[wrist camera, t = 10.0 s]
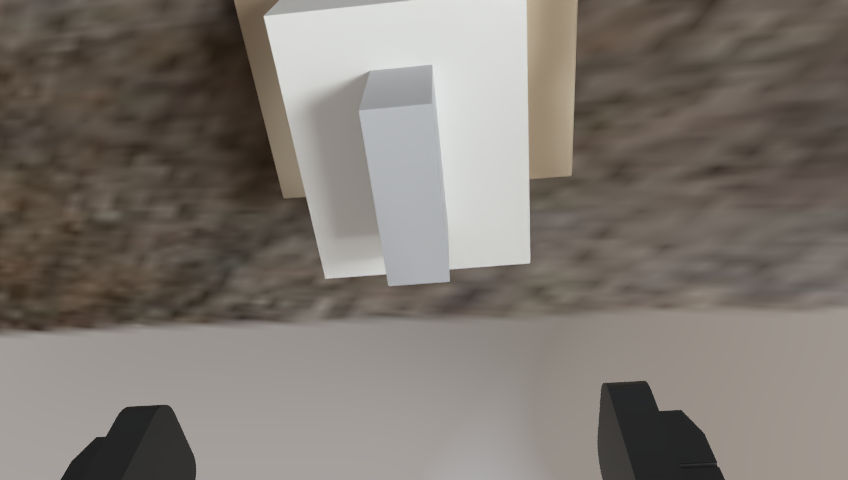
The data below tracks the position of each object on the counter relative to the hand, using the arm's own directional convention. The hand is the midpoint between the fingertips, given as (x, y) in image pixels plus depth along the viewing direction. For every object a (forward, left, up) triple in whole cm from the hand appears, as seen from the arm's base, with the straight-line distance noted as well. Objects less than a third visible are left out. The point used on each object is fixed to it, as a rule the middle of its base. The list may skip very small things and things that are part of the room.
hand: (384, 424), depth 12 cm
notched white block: (0, 0, -19) cm, 19 cm away
